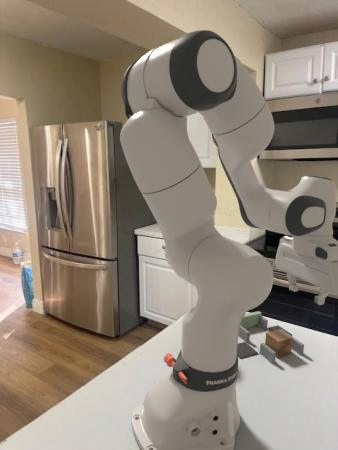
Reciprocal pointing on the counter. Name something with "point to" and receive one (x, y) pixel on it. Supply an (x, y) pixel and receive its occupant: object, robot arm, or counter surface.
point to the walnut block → (279, 342)
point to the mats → (247, 350)
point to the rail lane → (257, 319)
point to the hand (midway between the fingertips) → (305, 296)
